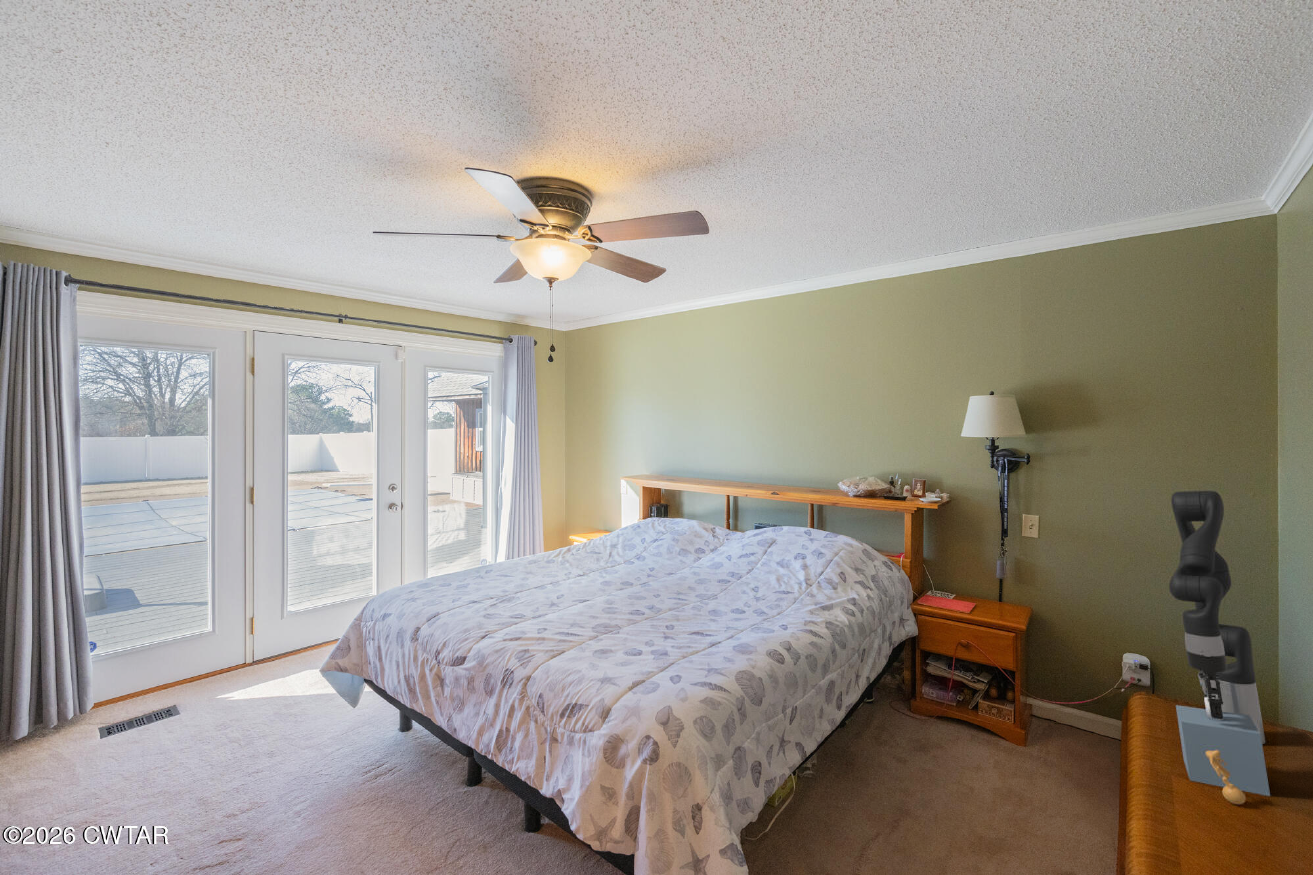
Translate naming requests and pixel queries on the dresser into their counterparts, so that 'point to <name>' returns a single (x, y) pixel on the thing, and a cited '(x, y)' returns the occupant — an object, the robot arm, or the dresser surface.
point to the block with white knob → (1222, 748)
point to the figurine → (1225, 779)
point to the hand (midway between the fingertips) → (1214, 712)
